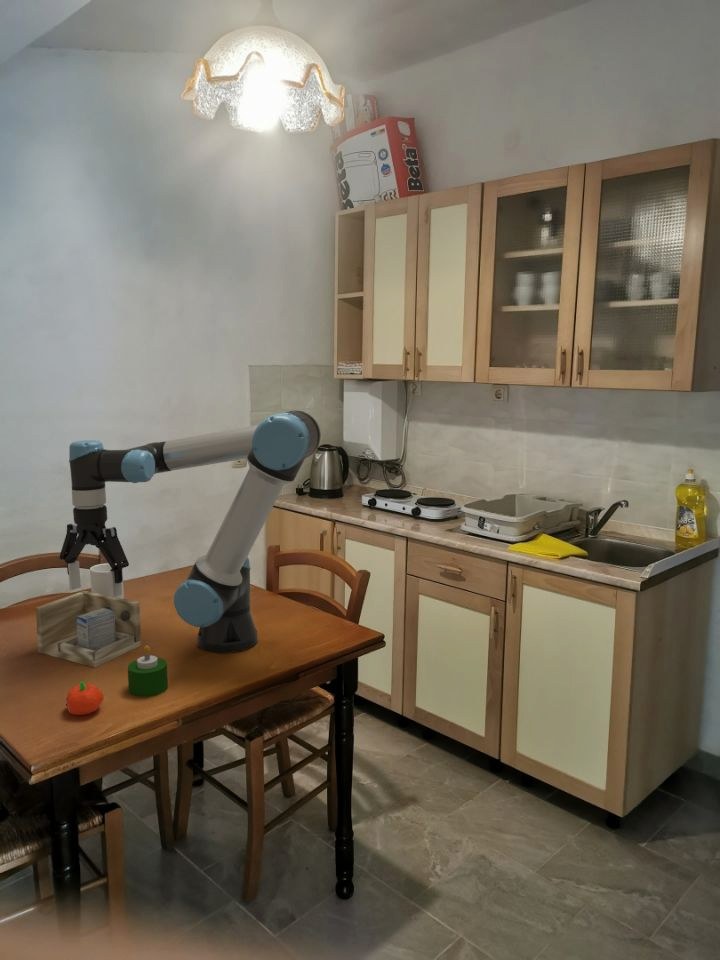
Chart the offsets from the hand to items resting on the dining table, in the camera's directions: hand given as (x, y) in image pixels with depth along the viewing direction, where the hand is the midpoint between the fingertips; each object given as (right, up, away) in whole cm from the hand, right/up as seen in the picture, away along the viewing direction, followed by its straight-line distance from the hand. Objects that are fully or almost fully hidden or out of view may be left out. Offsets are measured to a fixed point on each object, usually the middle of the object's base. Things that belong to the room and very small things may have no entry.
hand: (95, 592), depth 179 cm
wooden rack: (-3, -15, +5) cm, 16 cm away
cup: (-4, -12, +22) cm, 26 cm away
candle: (+17, -19, -16) cm, 30 cm away
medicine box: (0, -14, +2) cm, 14 cm away
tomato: (+7, -21, -27) cm, 35 cm away
